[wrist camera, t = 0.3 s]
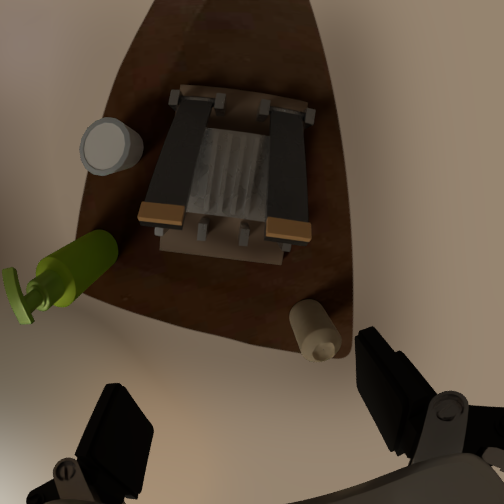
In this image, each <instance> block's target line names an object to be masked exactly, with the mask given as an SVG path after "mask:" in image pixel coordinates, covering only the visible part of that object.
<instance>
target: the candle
mask: <svg viewBox="0 0 504 504" xmlns="http://www.w3.org/2000/svg"><path fill="white" fill-rule="evenodd" d="M289 318H290V323H291V326H292V328H293V331H294V334H295V337H296V339H297V342H298V345H299V347H300V350H301V353H302V355H303V357H304V358H305V359H307V360H308V361H311V362H322V361H326V360H328V359H330V358H332V357H334V355H335V354H336V353H337V352H338V350H339V349H340V346H341V342H342V340H341V336H340V334H339V332H338V331H337V329H336V327H335V326H334V324H333V323H332V321H331V319H330V318H329V316H328V315H327V313H326V311H325V310H324V308H323V307H322V305H321V304H320V303H319V302H317V301H316V300H312V299H306V300H302V301H300V302H298V303H297V304H295V305H294V306H293V308H292V309H291V311H290V316H289Z"/></svg>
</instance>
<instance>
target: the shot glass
mask: <svg viewBox="0 0 504 504" xmlns="http://www.w3.org/2000/svg"><path fill="white" fill-rule="evenodd" d="M143 149H144V146H143V140H142V138H141V137H140V135H139V134H138V133H137V132H135V131H134V130H132V129H131V128H130V127H128V126H127V125H125V124H124V123H122V122H121V121H119V120H117V119H116V118H107V117H105V118H102V119H100V120H97V121H95V122H94V123H93V124H92V125H90V126H89V127H88V128H87V130H86V131H85V133H84V135H83V137H82V139H81V144H80V149H79V150H80V158H81V161H82V163H83V165H84V166H85V168H86V169H87V170H88V171H90V172H91V173H92V174H94V175H101V176H104V175H108V174H111V173H114V172H118V171H121V170H124V169H128V168H131V167H133V166H134V165H135V164H137V163H138V161H139V160H140V158H141V157H142V153H143Z"/></svg>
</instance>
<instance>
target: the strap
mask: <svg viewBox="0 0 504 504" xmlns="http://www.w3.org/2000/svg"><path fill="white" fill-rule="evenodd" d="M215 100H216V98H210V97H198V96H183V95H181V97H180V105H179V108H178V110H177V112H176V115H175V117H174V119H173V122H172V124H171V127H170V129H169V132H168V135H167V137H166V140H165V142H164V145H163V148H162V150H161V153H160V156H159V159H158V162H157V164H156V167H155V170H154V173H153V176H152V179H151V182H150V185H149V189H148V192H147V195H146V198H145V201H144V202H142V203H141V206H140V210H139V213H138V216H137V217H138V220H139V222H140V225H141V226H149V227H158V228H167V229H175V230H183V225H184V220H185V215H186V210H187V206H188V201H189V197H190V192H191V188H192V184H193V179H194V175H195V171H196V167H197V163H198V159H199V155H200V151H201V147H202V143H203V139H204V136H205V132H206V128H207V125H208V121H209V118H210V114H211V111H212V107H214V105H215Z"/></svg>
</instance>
